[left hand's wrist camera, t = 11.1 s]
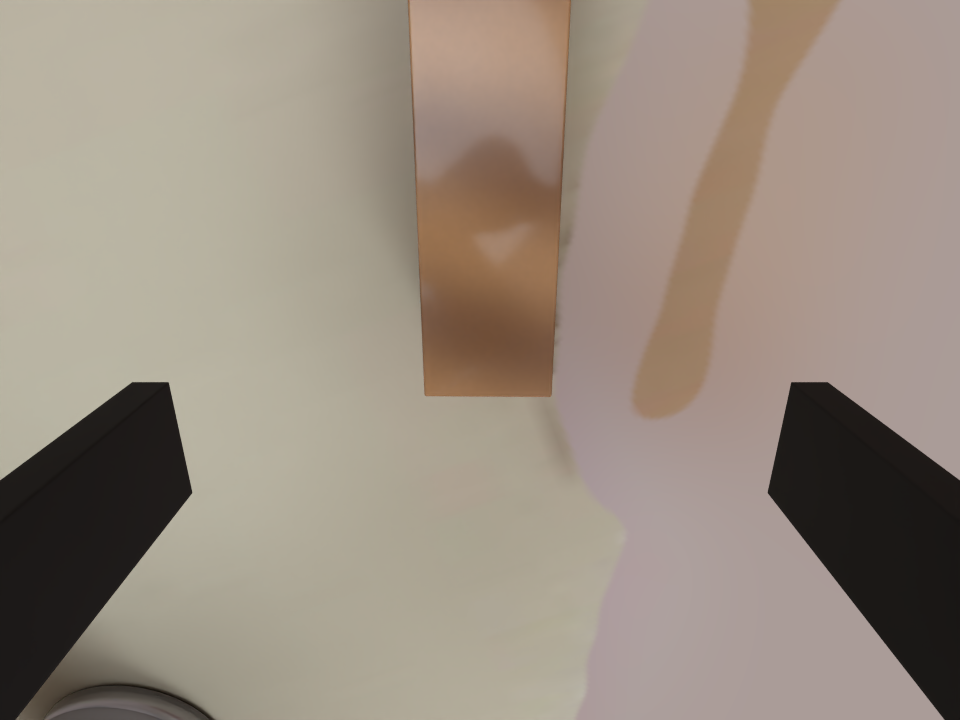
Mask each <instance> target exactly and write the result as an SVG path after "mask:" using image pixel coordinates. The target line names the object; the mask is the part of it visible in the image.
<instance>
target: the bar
mask: <svg viewBox="0 0 960 720" xmlns="http://www.w3.org/2000/svg"><path fill="white" fill-rule="evenodd" d="M570 10H571V0H408V15H409V38H410V62H411V85H412V109H413V133H414V156H415V180H416V204H417V227H418V251H419V275H420V298H421V322H422V346H423V369H424V393H425V396H503V397H550V396H551V394H552V374H553V354H554V333H555V313H556V293H557V273H558V253H559V232H560V212H561V192H562V172H563V151H564V131H565V111H566V91H567V71H568V50H569V30H570Z"/></svg>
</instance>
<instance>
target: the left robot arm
mask: <svg viewBox="0 0 960 720" xmlns="http://www.w3.org/2000/svg"><path fill="white" fill-rule="evenodd" d="M191 494H192V489H191V484H190V480H189V475H188V470H187V466H186V461H185V456H184V452H183V447H182V442H181V438H180V433H179V428H178V424H177V419H176V414H175V410H174V405H173V400H172V396H171V391H170V386H169V382H132V383H131V384H129V385H128V386H127V387H125V388H124V389H123V390H121V391H120V392H119V393H117V394H116V395H115V396H113V397H112V398H111V399H109V400H108V401H106V402H105V403H104V404H102V405H101V406H100V407H98V408H97V409H96V410H94V411H93V412H92V413H90V414H89V415H88V416H86V417H85V418H84V419H82V420H81V421H80V422H78V423H77V424H76V425H74V426H73V427H71V428H70V429H69V430H67V431H66V432H65V433H63V434H62V435H61V436H59V437H58V438H57V439H55V440H54V441H53V442H51V443H50V444H49V445H47V446H46V447H45V448H43V449H42V450H41V451H39V452H38V453H36V454H35V455H34V456H32V457H31V458H30V459H28V460H27V461H26V462H24V463H23V464H22V465H20V466H19V467H18V468H16V469H15V470H14V471H12V472H11V473H10V474H8V475H7V476H6V477H4V478H3V479H1V480H0V720H16V718H17V717H18V716H19V714H20V713H21V712H22V711H23V709H24V708H25V707H26V705H27V704H28V703H29V702H30V700H31V699H32V698H33V696H34V695H35V694H36V693H37V691H38V690H39V689H40V688H41V686H42V685H43V684H44V682H45V681H46V680H47V679H48V677H49V676H50V675H51V673H52V672H53V671H54V670H55V668H56V667H57V666H58V664H59V663H60V662H61V661H62V659H63V658H64V657H65V655H66V654H67V653H68V652H69V650H70V649H71V648H72V646H73V645H74V644H75V643H76V641H77V640H78V639H79V637H80V636H81V635H82V634H83V632H84V631H85V630H86V629H87V627H88V626H89V625H90V623H91V622H92V621H93V620H94V618H95V617H96V616H97V614H98V613H99V612H100V611H101V609H102V608H103V607H104V605H105V604H106V603H107V602H108V600H109V599H110V598H111V596H112V595H113V594H114V593H115V591H116V590H117V589H118V587H119V586H120V585H121V584H122V582H123V581H124V580H125V579H126V577H127V576H128V575H129V573H130V572H131V571H132V570H133V568H134V567H135V566H136V564H137V563H138V562H139V561H140V559H141V558H142V557H143V555H144V554H145V553H146V552H147V550H148V549H149V548H150V546H151V545H152V544H153V543H154V541H155V540H156V539H157V537H158V536H159V535H160V534H161V532H162V531H163V530H164V529H165V527H166V526H167V525H168V523H169V522H170V521H171V520H172V518H173V517H174V516H175V514H176V513H177V512H178V511H179V509H180V508H181V507H182V505H183V504H184V503H185V502H186V500H187V499H188V498H189V496H190V495H191ZM768 494H769V495H770V496H771V498H772V499H773V500H774V502H775V503H776V504H777V505H778V507H779V508H780V509H781V511H782V512H783V513H784V514H785V516H786V517H787V518H788V519H789V521H790V522H791V523H792V525H793V526H794V527H795V529H796V530H797V531H798V532H799V534H800V535H801V536H802V537H803V539H804V540H805V541H806V543H807V544H808V545H809V546H810V548H811V549H812V550H813V552H814V553H815V554H816V555H817V557H818V558H819V559H820V561H821V562H822V563H823V564H824V566H825V567H826V568H827V570H828V571H829V572H830V573H831V575H832V576H833V577H834V579H835V580H836V581H837V582H838V584H839V585H840V586H841V587H842V589H843V590H844V591H845V593H846V594H847V595H848V596H849V598H850V599H851V600H852V602H853V603H854V604H855V605H856V607H857V608H858V609H859V611H860V612H861V613H862V614H863V616H864V617H865V618H866V620H867V621H868V622H869V623H870V625H871V626H872V627H873V628H874V630H875V631H876V632H877V634H878V635H879V636H880V637H881V639H882V640H883V641H884V643H885V644H886V645H887V646H888V648H889V649H890V650H891V652H892V653H893V654H894V655H895V657H896V658H897V659H898V661H899V662H900V663H901V664H902V666H903V667H904V668H905V670H906V671H907V672H908V673H909V675H910V676H911V677H912V678H913V680H914V681H915V682H916V684H917V685H918V686H919V687H920V689H921V690H922V691H923V693H924V694H925V695H926V696H927V698H928V699H929V700H930V702H931V703H932V704H933V705H934V707H935V708H936V709H937V711H938V712H939V713H940V714H941V716H942V717H943V718H944V720H960V480H958V479H957V478H956V477H954V476H953V475H952V474H950V473H949V472H948V471H946V470H945V469H944V468H942V467H941V466H940V465H938V464H937V463H936V462H934V461H933V460H932V459H930V458H929V457H927V456H926V455H925V454H924V453H922V452H921V451H919V450H918V449H917V448H915V447H914V446H913V445H911V444H910V443H909V442H907V441H906V440H905V439H903V438H902V437H901V436H899V435H898V434H897V433H895V432H894V431H893V430H891V429H890V428H889V427H887V426H886V425H884V424H883V423H882V422H880V421H879V420H878V419H876V418H875V417H874V416H872V415H871V414H870V413H868V412H867V411H866V410H864V409H863V408H862V407H860V406H859V405H858V404H856V403H855V402H854V401H852V400H851V399H849V398H848V397H847V396H845V395H844V394H843V393H841V392H840V391H839V390H837V389H836V388H835V387H833V386H832V385H831V384H829V383H828V382H792V383H791V386H790V391H789V396H788V401H787V405H786V410H785V414H784V419H783V424H782V428H781V433H780V438H779V442H778V447H777V452H776V456H775V461H774V466H773V470H772V475H771V480H770V484H769V489H768ZM43 720H210V719H209V718H207V717H206V716H205V715H204V714H202V713H201V712H199V711H198V710H197V709H195V708H193V707H192V706H190V705H188V704H186V703H184V702H182V701H180V700H178V699H176V698H174V697H171V696H169V695H166V694H163V693H160V692H156V691H153V690H149V689H144V688H138V687H131V686H99V687H93V688H88V689H84V690H80V691H78V692H75V693H72V694H70V695H68V696H66V697H65V698H63V699H62V700H60V701H59V702H58V703H56V704H55V705H54V706H53V707H52V709H51V710H50V711H49V712H48V714H47V715H46V716H45V718H44V719H43Z"/></svg>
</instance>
